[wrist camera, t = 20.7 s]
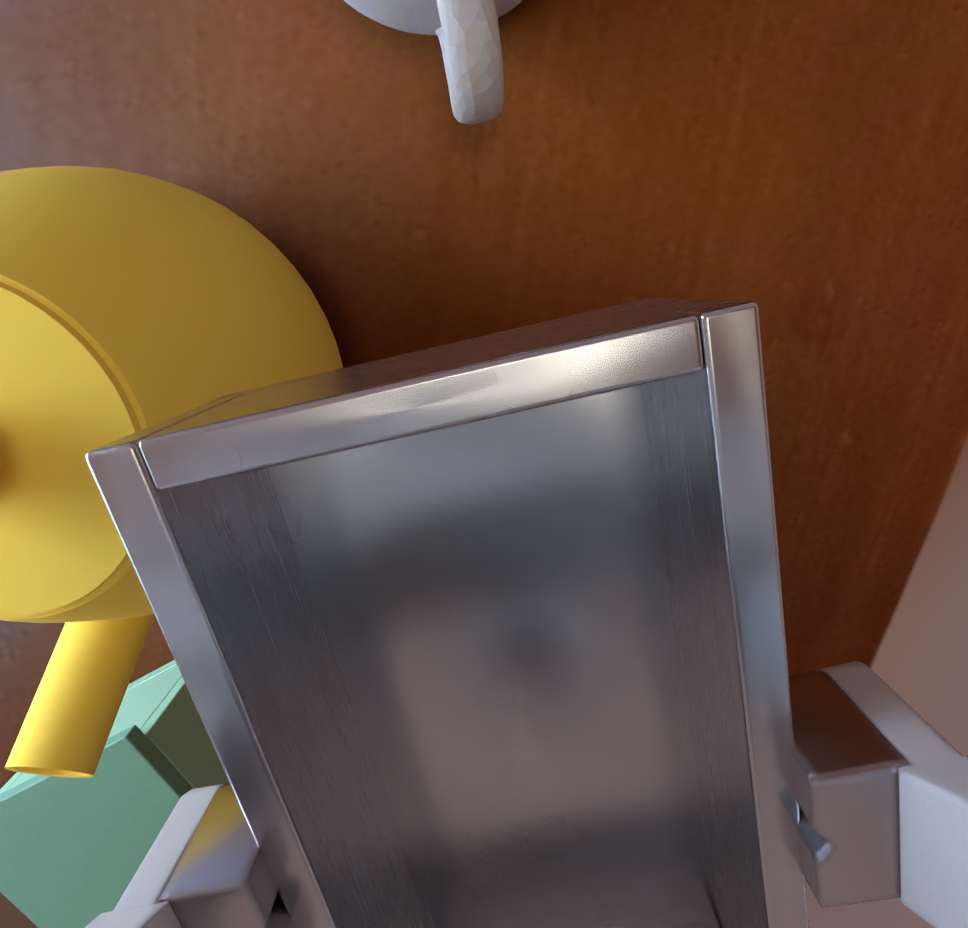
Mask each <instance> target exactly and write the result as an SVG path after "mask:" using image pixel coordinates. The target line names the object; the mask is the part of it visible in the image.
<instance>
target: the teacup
mask: <svg viewBox="0 0 968 928" xmlns="http://www.w3.org/2000/svg"><path fill="white" fill-rule="evenodd" d="M344 1H345V2H346V3H347V4H349V5H350V6H351V7H352V8H354V9H356V10H357V11H359V12H360V13H362V14H363V15H365V16H367V17H369V18H371V19H373V20H375V21H376V22H378V23H380V24H382V25H385V26H388V27H391V28H394V29H397V30H401V31H404V32H408V33H415V34H422V35H437V36H438V38H439V41H440V45H441V49H442V54H443V60H444V65H445V71H446V77H447V82H448V87H449V94H450V100H451V105H452V111H453V114H454V117H455V118H456V119H457V121H458V122H460V123H463V124H473V125H474V124H478V123H482V122H485V121H489V120H492V119H493V118H495V117H497V116H498V115H499V114H500V113H501V111H502V108H503V106H504V73H503V60H502V51H501V43H500V34H499V26H498V18H499V17H500V16H502V15H504V14H506V13H507V12H509V11H510V10H511V9H513V8H514V7H515V6H517V5H518V4H519V3H520V2H522V1H523V0H344Z"/></svg>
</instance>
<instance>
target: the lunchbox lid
mask: <svg viewBox="0 0 968 928" xmlns="http://www.w3.org/2000/svg"><path fill="white" fill-rule="evenodd" d="M191 789H192V787H191V786H190V785H189V784H188V783H187V782H186V781H185V779H184V778H183V777H182V776H181V775H180V774H179V773H178V772H177V770H176V769H175V768H174V767H173V766H172V765H171V764H170V763H169V761H168V760H167V759H166V758H165V757H164V756H163V755H162V754H161V752H160V751H159V750H158V749H157V748H156V747H155V746H154V745H153V743H152V742H151V741H150V740H149V739H148V738H147V737H146V736H145V734H144V733H143V732H142V731H141V730H140V729H139V728H138V727H137V725H133V726H131V727H130V728H128V729H126V730H124V731H122V732H120V733H118V734H116V735H114V736H112V737H110V738H108V740H107V742H106V745H105V748H104V750H103V753H102V756H101V758H100V761H99V763H98V766H97V769H96V771H95V774H94V777H90V778H70V777H55V776H44V775H37V776H35V777H33V778H31V779H29V780H27V781H25V782H23V783H21V784H19V785H17V786H15V787H13V788H11V789H9V790H7V791H6V792H4V793H2V794H0V892H1V893H2V894H3V895H4V896H5V897H6V898H7V899H8V900H10V901H11V902H12V903H13V904H14V905H15V906H16V907H17V908H18V909H19V910H20V911H22V912H23V913H24V914H25V915H26V916H27V917H28V918H29V919H30V920H31V921H32V922H33V923H34V924H36V925H37V926H38V927H39V928H85V927H86V926H87V925H88V924H89V923H90V922H92V921H93V920H94V919H95V918H96V917H97V916H98V915H99V914H101V913H105V912H110V911H113V910H114V908H115V907H116V905H117V903H118V902H119V900H120V898H121V897H122V895H123V893H124V892H125V890H126V888H127V887H128V885H129V883H130V882H131V880H132V878H133V877H134V875H135V873H136V872H137V870H138V868H139V866H140V865H141V863H142V861H143V860H144V858H145V856H146V855H147V853H148V851H149V850H150V848H151V846H152V845H153V843H154V841H155V840H156V838H157V836H158V835H159V833H160V831H161V830H162V828H163V826H164V824H165V823H166V821H167V819H168V818H169V816H170V814H171V813H172V811H173V809H174V808H175V806H176V804H177V803H178V801H179V799H180V798H181V797H182V796H183V795H184V794H186V793H187V792H189V791H190V790H191Z"/></svg>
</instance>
